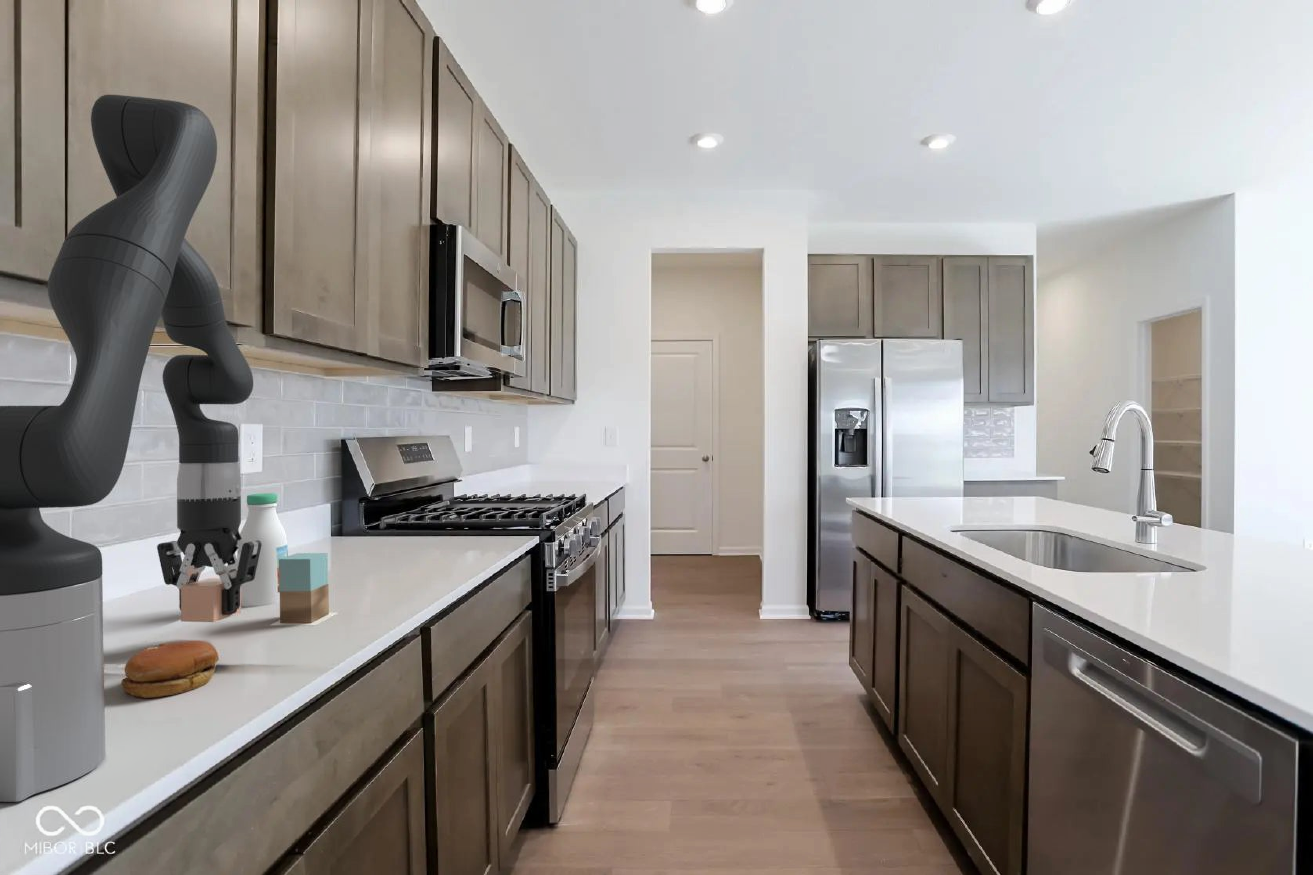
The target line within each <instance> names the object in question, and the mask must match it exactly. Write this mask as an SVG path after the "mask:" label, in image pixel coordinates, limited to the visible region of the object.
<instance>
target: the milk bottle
mask: <svg viewBox="0 0 1313 875" xmlns="http://www.w3.org/2000/svg"><path fill="white" fill-rule="evenodd" d="M277 502H278V495H277V493H271V492H270V493H266V492H265V493H252V494H247V495H246V504H247V506H246V508H247V509H248V512H247V513H248V514H247V516H246V520H245V522H244V524H243V527H242V528H241V531H239V533H240V535H241V537H242V539H243V540H248V541H257V540H259V541H260V542H261V544H262V546H261V550H260V555H259V560H258V564H257V569H256V574H255V578H254V580H253V581H250V582H247V583H244V584H242V585H241V607H246V608H247V607H249V608H250V607H251V608H252V607H265V606H270V605H277V604H280V591H279V559H281V558H284V557H287V556H289V555H288V553H289V549H288V548H289V547H288V538H287V534H286V531H285V528H284V527H283V525H282V523H281V521H280V519H279V516H278V514H277V510H276V509H277V506H278V504H277ZM238 551H239V548H238V549H237V551H236V557H237V560H238V563H239V560H240V554H238Z"/></svg>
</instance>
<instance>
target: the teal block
mask: <svg viewBox="0 0 1313 875" xmlns="http://www.w3.org/2000/svg"><path fill="white" fill-rule="evenodd" d="M328 557H329V556H328V552H311V553H310V552H307V553H306V552H304V553H303V552H299V553H297V552H296V553H293V554H291V555H288V556H287V557H284V558H281V559H279V591H312V590H315V589H317V588H319V587H321V586H324V585H326V584H328V585H329V582H328V581H329V580H328V579H329V573H328V572H329V569H328V568H329V566H328V564H329V563H328V562H329V561H328V560H329V559H328Z"/></svg>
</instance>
